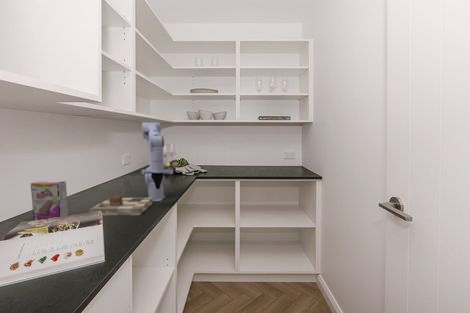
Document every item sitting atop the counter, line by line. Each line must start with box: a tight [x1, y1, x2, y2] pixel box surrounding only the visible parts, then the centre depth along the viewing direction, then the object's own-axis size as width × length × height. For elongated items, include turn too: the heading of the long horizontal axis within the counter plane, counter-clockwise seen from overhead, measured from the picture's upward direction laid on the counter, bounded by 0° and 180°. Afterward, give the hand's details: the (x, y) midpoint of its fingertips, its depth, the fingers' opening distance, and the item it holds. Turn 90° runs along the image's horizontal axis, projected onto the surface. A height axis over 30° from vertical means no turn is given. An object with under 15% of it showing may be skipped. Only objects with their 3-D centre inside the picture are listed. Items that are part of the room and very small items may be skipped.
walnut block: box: [108, 195, 123, 206], centre depth 108 cm, size 4×4×4 cm
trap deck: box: [89, 197, 154, 216], centre depth 112 cm, size 18×22×3 cm
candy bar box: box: [30, 180, 69, 221], centre depth 97 cm, size 11×5×16 cm, turn 92°
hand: (158, 188), depth 114 cm, fingers closed
